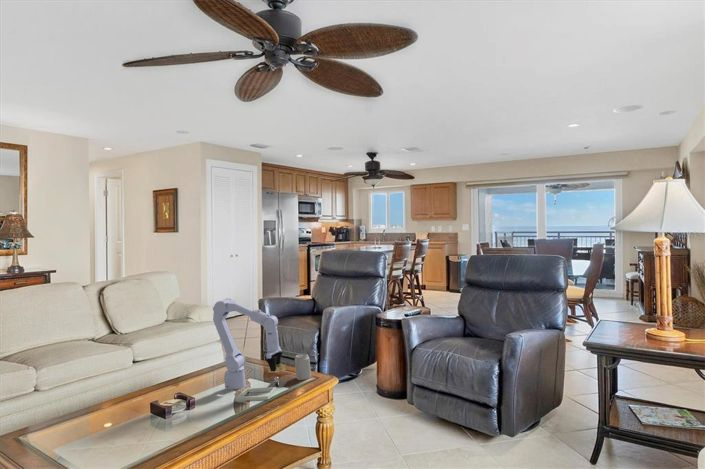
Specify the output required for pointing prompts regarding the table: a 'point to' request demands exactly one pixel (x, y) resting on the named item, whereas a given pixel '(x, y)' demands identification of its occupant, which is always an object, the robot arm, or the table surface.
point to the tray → (242, 398)
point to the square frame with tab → (278, 368)
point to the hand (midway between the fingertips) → (275, 369)
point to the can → (302, 367)
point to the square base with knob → (277, 383)
